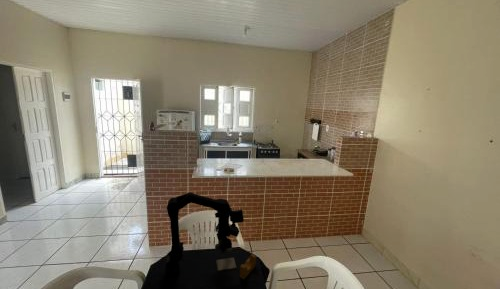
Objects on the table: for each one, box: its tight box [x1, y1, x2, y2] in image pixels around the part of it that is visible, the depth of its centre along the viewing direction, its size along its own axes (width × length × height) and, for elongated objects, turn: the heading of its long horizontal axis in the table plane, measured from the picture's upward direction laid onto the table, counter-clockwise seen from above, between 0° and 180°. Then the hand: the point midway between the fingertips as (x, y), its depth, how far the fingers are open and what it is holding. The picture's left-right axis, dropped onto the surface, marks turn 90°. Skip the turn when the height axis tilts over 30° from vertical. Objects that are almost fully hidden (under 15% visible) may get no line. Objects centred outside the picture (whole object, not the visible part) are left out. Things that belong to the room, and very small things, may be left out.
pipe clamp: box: [239, 253, 257, 280], centre depth 115 cm, size 12×4×6 cm, turn 148°
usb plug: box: [214, 243, 233, 256], centre depth 117 cm, size 9×4×4 cm, turn 105°
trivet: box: [215, 257, 237, 272], centre depth 119 cm, size 10×8×1 cm
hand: (222, 250), depth 117 cm, fingers closed on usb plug, 4 cm apart
